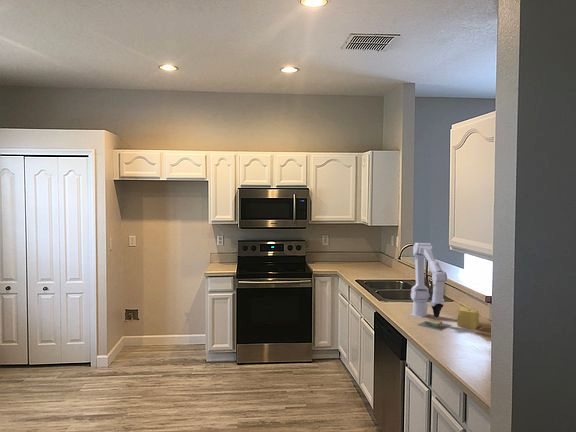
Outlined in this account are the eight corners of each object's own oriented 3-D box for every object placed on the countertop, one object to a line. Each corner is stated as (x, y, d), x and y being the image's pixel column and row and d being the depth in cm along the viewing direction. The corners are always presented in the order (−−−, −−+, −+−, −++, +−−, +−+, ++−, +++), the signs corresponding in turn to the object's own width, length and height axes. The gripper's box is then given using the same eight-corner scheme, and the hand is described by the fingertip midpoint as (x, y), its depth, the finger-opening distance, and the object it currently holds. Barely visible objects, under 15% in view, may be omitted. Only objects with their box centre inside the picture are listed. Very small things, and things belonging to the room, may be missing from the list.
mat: (428, 320, 277) (428, 319, 277) (452, 326, 268) (452, 325, 268) (416, 325, 265) (416, 324, 265) (441, 331, 256) (441, 330, 256)
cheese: (478, 326, 271) (480, 309, 271) (475, 330, 262) (477, 312, 262) (459, 322, 277) (461, 306, 276) (456, 327, 267) (457, 309, 267)
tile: (430, 318, 270) (425, 321, 265) (442, 321, 266) (437, 323, 260) (429, 323, 270) (424, 325, 265) (441, 326, 266) (436, 328, 260)
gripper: (439, 296, 259) (438, 320, 259) (450, 292, 270) (448, 316, 271) (427, 293, 263) (425, 317, 264) (438, 290, 274) (436, 313, 275)
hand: (436, 316), depth 268 cm, fingers closed
